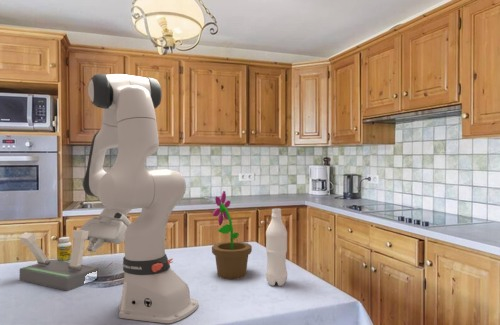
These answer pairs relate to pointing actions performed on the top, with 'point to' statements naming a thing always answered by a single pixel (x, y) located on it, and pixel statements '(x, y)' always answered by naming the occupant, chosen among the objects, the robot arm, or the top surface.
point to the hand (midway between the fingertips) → (90, 250)
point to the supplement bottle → (64, 249)
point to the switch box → (55, 275)
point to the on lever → (34, 247)
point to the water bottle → (276, 250)
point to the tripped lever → (77, 249)
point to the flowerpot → (229, 246)
